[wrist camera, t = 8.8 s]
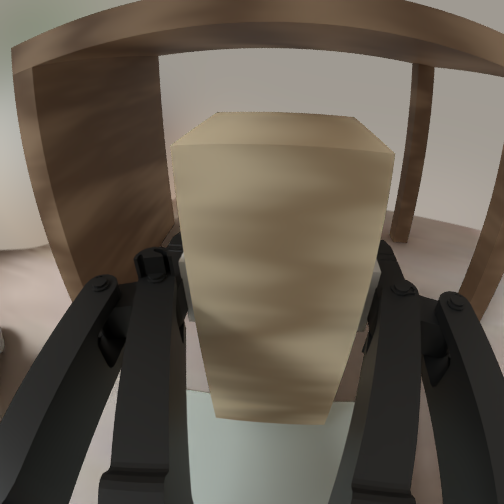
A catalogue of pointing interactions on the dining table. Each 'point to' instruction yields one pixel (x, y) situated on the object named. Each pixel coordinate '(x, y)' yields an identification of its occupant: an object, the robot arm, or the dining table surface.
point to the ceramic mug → (1, 341)
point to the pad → (263, 456)
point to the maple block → (279, 254)
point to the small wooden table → (151, 122)
